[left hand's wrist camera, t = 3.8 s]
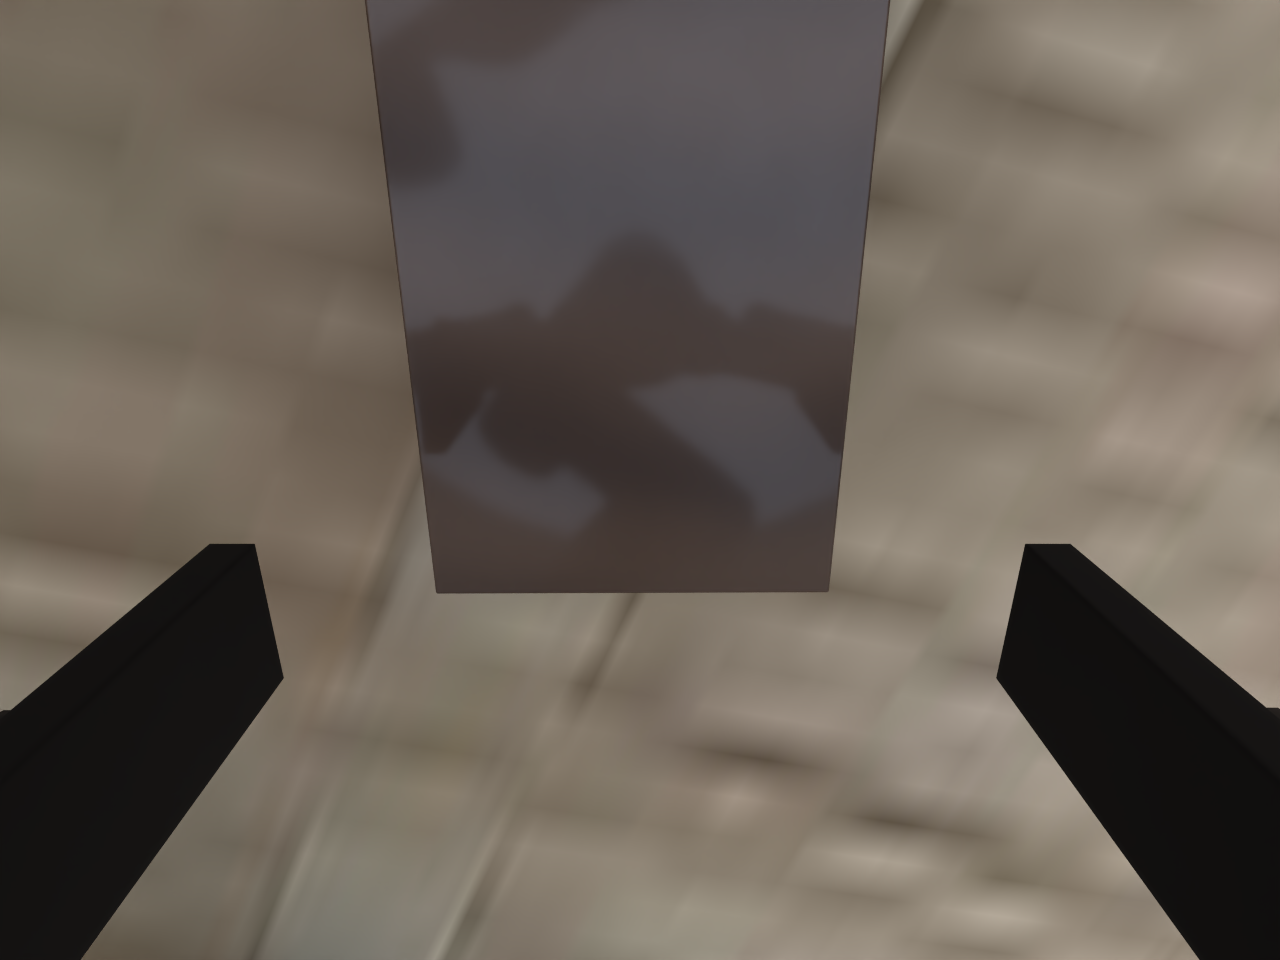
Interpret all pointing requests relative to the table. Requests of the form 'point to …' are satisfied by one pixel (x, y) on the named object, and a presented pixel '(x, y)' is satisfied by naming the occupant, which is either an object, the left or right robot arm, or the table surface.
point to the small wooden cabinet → (629, 282)
